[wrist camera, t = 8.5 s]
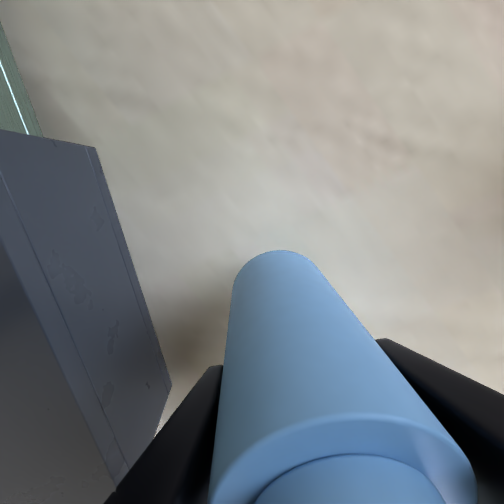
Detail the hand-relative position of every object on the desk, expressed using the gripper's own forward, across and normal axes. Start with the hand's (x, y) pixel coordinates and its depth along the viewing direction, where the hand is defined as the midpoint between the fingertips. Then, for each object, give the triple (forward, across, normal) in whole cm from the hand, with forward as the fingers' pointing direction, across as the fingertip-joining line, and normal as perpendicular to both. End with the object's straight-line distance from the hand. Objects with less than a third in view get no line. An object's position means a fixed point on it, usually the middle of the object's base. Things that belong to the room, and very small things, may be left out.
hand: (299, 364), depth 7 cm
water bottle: (+4, 0, 0) cm, 5 cm away
